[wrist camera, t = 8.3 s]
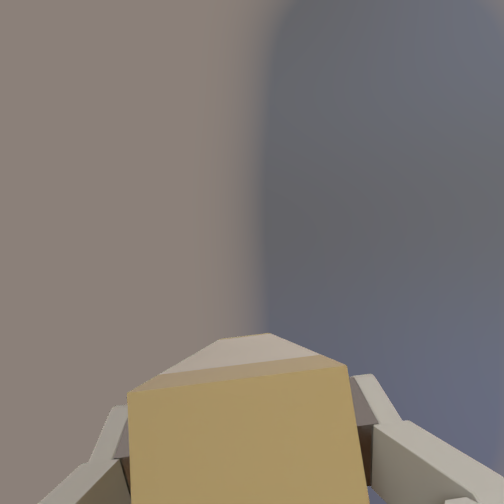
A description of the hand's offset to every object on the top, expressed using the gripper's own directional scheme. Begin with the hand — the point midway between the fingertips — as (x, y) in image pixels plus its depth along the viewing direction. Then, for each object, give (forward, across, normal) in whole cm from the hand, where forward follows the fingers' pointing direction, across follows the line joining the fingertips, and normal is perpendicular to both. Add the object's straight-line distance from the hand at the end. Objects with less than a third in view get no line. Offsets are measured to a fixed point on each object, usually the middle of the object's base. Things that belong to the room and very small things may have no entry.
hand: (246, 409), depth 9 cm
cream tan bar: (+4, 0, +5) cm, 7 cm away
